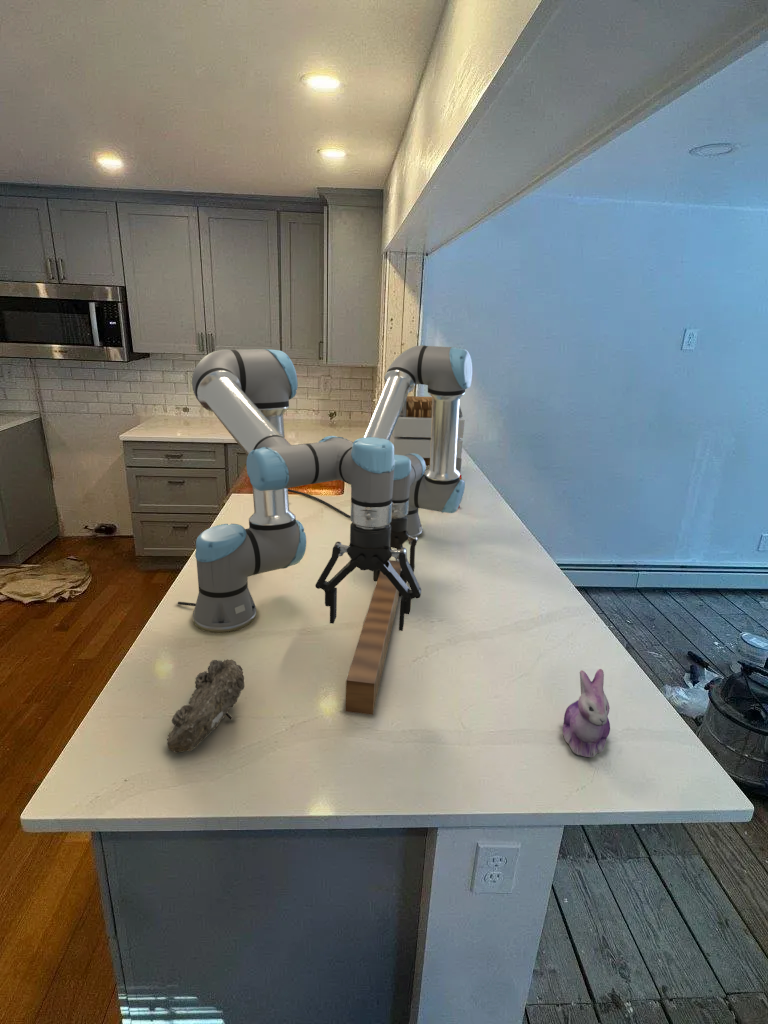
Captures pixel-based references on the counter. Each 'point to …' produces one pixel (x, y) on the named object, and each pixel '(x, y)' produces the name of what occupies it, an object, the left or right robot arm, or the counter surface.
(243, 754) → the counter surface
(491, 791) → the counter surface
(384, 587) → the bar
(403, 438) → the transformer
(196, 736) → the fossil
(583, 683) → the figurine
